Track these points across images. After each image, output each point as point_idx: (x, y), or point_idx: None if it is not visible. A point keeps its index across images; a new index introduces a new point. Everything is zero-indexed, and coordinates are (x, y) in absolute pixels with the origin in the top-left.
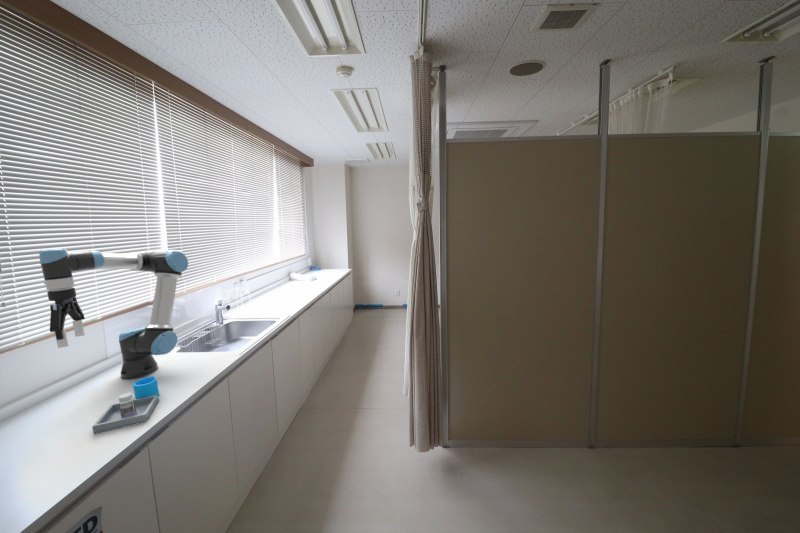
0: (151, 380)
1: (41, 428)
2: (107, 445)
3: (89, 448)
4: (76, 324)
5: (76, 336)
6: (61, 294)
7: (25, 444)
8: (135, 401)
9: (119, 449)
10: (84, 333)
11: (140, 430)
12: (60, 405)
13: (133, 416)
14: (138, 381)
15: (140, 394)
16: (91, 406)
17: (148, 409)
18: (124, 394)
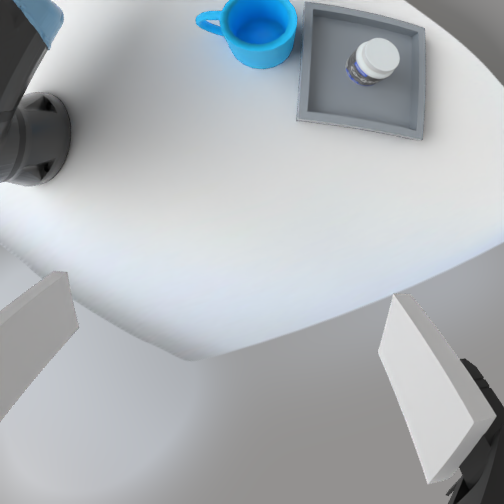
0: (233, 11)
1: (294, 276)
2: (475, 106)
3: (469, 137)
4: (6, 376)
5: (77, 322)
6: None
7: (364, 278)
8: (310, 55)
9: (497, 86)
10: (47, 276)
11: (449, 48)
12: (163, 280)
13: (421, 52)
14: (240, 40)
15: (293, 40)
16: (219, 192)
17: (400, 21)
18: (375, 57)
